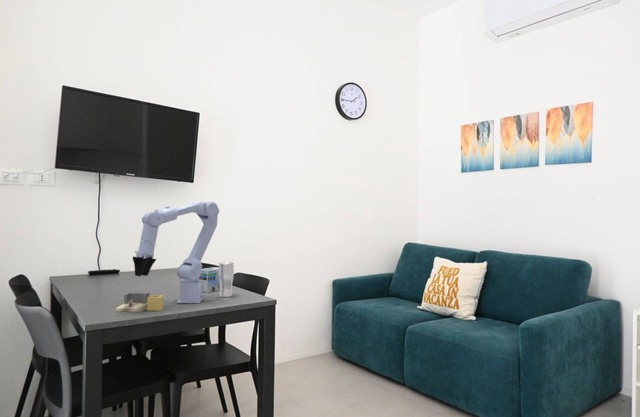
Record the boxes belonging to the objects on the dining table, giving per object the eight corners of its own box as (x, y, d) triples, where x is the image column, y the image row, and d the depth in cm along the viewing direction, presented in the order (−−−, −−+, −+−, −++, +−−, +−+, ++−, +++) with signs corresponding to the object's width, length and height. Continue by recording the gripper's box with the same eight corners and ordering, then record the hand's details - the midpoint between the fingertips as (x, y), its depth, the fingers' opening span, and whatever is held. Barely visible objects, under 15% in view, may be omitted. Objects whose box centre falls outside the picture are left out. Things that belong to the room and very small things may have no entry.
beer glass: (229, 297, 196) (230, 264, 196) (215, 296, 198) (215, 263, 198) (235, 294, 203) (236, 262, 203) (221, 294, 204) (222, 262, 204)
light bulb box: (207, 293, 206) (207, 270, 206) (197, 291, 210) (198, 269, 210) (224, 289, 215) (224, 267, 215) (214, 288, 219) (214, 266, 219)
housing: (149, 300, 181) (149, 292, 181) (145, 303, 176) (145, 294, 176) (127, 300, 181) (127, 292, 181) (122, 303, 176) (122, 294, 176)
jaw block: (163, 307, 176) (164, 295, 176) (160, 310, 171) (160, 297, 171) (151, 307, 175) (151, 295, 175) (147, 310, 170) (147, 297, 170)
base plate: (152, 304, 182) (152, 295, 182) (141, 311, 169) (141, 301, 169) (127, 304, 181) (128, 295, 181) (115, 311, 168) (115, 301, 168)
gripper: (144, 241, 181) (137, 273, 179) (131, 239, 167) (124, 274, 165) (161, 243, 182) (154, 276, 180) (149, 241, 167) (142, 277, 165)
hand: (141, 275), depth 172 cm, fingers open, 7 cm apart
